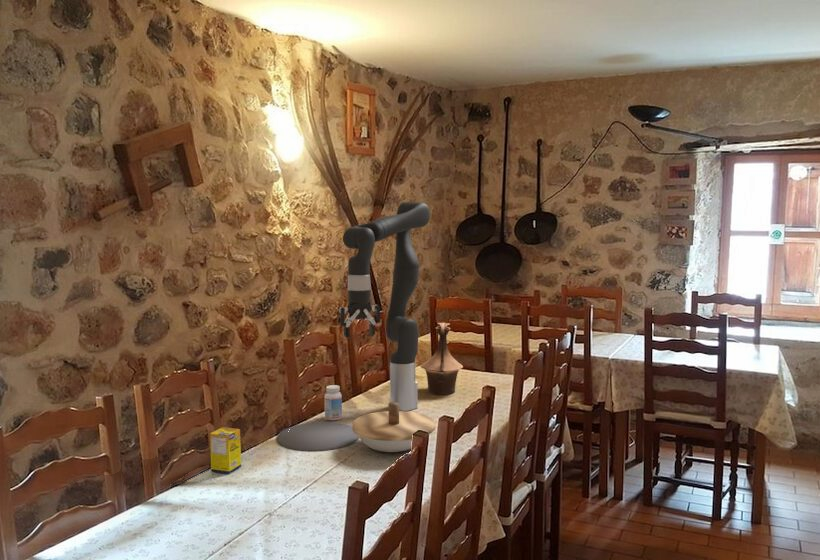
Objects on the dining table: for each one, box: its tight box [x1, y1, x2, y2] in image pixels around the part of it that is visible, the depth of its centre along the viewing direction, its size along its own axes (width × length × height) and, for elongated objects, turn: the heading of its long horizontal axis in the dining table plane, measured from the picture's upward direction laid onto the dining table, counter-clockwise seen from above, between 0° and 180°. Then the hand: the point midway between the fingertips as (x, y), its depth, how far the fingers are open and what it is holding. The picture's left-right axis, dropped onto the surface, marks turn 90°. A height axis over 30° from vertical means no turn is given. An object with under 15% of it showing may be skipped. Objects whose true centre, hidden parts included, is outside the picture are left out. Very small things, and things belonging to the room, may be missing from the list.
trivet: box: [276, 421, 360, 452], centre depth 210 cm, size 26×26×1 cm
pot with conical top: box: [420, 322, 464, 395], centre depth 263 cm, size 18×17×28 cm
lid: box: [351, 402, 436, 441], centre depth 199 cm, size 25×25×7 cm
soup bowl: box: [352, 429, 412, 453], centre depth 200 cm, size 24×24×7 cm
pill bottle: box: [323, 384, 343, 421], centre depth 229 cm, size 6×6×11 cm
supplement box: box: [209, 426, 242, 475], centre depth 183 cm, size 6×6×11 cm
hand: (359, 337), depth 218 cm, fingers open, 8 cm apart
